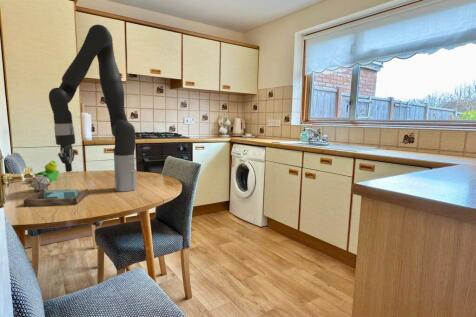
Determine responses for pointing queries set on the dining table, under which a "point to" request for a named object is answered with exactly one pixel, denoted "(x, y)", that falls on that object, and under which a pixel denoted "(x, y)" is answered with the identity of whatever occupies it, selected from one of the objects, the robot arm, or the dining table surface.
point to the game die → (40, 182)
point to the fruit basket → (50, 171)
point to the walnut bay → (53, 200)
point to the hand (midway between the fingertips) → (69, 171)
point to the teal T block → (60, 194)
